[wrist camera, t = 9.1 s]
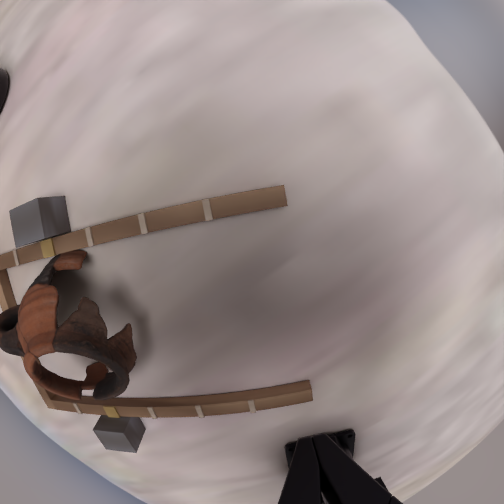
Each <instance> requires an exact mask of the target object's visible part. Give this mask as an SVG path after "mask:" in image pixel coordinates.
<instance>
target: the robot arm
mask: <svg viewBox="0 0 504 504" xmlns="http://www.w3.org/2000/svg"><path fill="white" fill-rule="evenodd" d="M354 442H355V433H354V431H353V430H348V431H344V432H340V433H336V434H332V435H326V434H325V433H321V434H316V435H313V436H312V437H311V436H307V437H302V438H299V439H298V440H297V442H295V443H290V444H287V445H286V446H285V452H286V457H287V462H288V467H289V471H288V474H287V477H286V481H285V484H284V487H283V490H282V493H281V496H280V499H279V502H278V504H403V503H402V502H400V501H399V500H398V499H397V498H395V497H394V496H392V494H391V493H389V491H388V490H387V488H386V486H385V484H384V483H383V481H382V479H381V477H378V478H376V479H373V478H372V477H371V476H370V475H369V474H368V473H367V472H365V471H364V470H363V469H362V468H361V467H360V466H359V465H358V464H357V463H356V462H355V461H354V460H353V453H354Z"/></svg>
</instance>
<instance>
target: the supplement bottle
mask: <svg viewBox="0 0 504 504" xmlns="http://www.w3.org/2000/svg"><path fill="white" fill-rule="evenodd" d="M7 91H8V75H7V73H6V71H5V70H4V69H2V68H0V111H1V109H2V106H3V104H4V101H5V98H6V95H7Z"/></svg>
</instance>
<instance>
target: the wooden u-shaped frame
mask: <svg viewBox="0 0 504 504" xmlns="http://www.w3.org/2000/svg"><path fill="white" fill-rule="evenodd" d="M283 206H287V200H286V194H285V188H284V185H281V186H275V187H269V188H263V189H257V190H252V191H246V192H241V193H235V194H230V195H225V196H220V197H214V198H210V199H209V198H208V199H203V200H200V201H195V202H190V203H186V204H181V205H176V206H172V207H168V208H163V209H159V210H155V211H150V212H146V213H140V214H138V215H134V216H130V217H126V218H122V219H118V220H114V221H110V222H107V223H103V224H99V225H96V226H92V227H87V228H85V229H81V230H78V231H74V232H71V233H68V234H64V233H67V232H70V231H71V229H70V224H69V219H68V214H67V208H66V202H65V196H58V197H43V198H36V199H34V200H32V201H29V202H27V203H25V204H23V205H21V206H18V207H16V208H14V209H12V210H10V211H9V212H10V219H11V225H12V230H13V235H14V240H15V245H16V248H17V247H20V246H24V245H27V244H31V243H34V242H37V241H40V242H38V243H35V244H32V245H29V246H26V247H23V248H20V249H16V250H13V251H11V252H8V253H5V254H3V255H0V305H1V308H2V311H3V312H4V311H5V310H7V309H9V308H11V307H13V306H16V305H17V304H16V301H15V298H14V295H13V292H12V288H11V285H10V282H9V278H8V274H7V271H6V268H10V267H13V266H18V265H20V264H24V263H28V262H31V261H35V260H38V259H42V258H48V257H51V256H55V255H57V254H61V253H65V252H69V251H73V250H77V249H81V248H85V247H91V246H94V245H97V244H101V243H105V242H109V241H114V240H118V239H122V238H127V237H131V236H135V235H140V234H147V233H149V232H153V231H158V230H163V229H167V228H172V227H177V226H182V225H187V224H191V223H196V222H201V221H209V220H213V219H217V218H222V217H227V216H232V215H238V214H243V213H249V212H254V211H260V210H266V209H271V208H277V207H283ZM60 234H64V235H61V236H58V237H54V236H57V235H60ZM51 237H54V238H51ZM47 238H50V239H47ZM44 239H47V240H44ZM41 240H43V241H41ZM21 358H22V360H23V359H24V357H22V356H21ZM36 361H37V362H38V364H40V361H39V359H38V358H37V359H36ZM33 382H34V384H35V386H36V387H37V389H38V391H39V393H40V394H41V396H42V398H43V400H44V401H45V403H46V405H47V406H48V408H51V409H57V410H63V411H70V412H78V413H79V414H82V413H86V414H96V415H101V417H100V418H99V420H98V422H97V423H96V425H95V427H94V429H93V431H94V432H95V434H96V435H97V437H98V438H99V440H100V441H101V443H102V444H103V445H104V447H105V448H106V449H108V450H115V451H124V452H133V453H137V450H138V447H139V445H140V442H141V440H142V437H143V434H144V432H145V427H144V425H143V423H142V422H141V420H140V418H139V417H152V418H153V419H157V418H158V417H195V416H199V418H204V417H205V416H211V415H223V414H233V413H242V412H251V413H254V412H256V411H258V410H265V409H271V408H277V407H283V406H289V405H294V404H299V403H304V402H309V401H313V397H312V388H311V385H310V382H309V380H306V381H301V382H296V383H291V384H286V385H280V386H275V387H269V388H262V389H256V390H249V391H241V392H233V393H224V394H214V395H203V396H190V397H171V398H111V399H107V400H95V399H93V397H89V396H81V400H74V399H69V398H65V397H62V396H59V395H57V394H54V393H52V392H50V391H48V390H46V389H44V388H42V387H41V386H39V385H38V384H37V383H36V382H35V381H33Z"/></svg>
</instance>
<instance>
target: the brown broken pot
mask: <svg viewBox="0 0 504 504" xmlns="http://www.w3.org/2000/svg"><path fill="white" fill-rule="evenodd" d="M86 255H87V253H86V252H85V251H83V250H73V251H69V252H65V253H61V254H58V255H56V256H55V257H54V258H52V259H51V260H50V262H49V263H48V264H47V265H46V266H45V268H44V269H43V271H42V272H41V274H40V275H39V276H38V277H37V278H36V279H35V281H34V282H33V283H32V284H31V286H30V287H29V288H28V290H27V292H26V294H25V295H24V297H23V299H22V301H21V304H20V305H16V306H13V307H11V308H9V309H7V310H5V311H4V312H2V313H1V314H0V348H1V349H2V350H3V351H5V352H7V353H9V354H12V355H18V356H22V357H24V359H23V364H24V367H25V370H26V372H27V373H28V375H29V376H30V378H31V379H32V380H33V381H35V382H36V383H37V384H38V385H39V386H41V387H42V388H44V389H46V390H48V391H50V392H52V393H54V394H57V395H59V396H62V397H65V398H69V399H74V400H81V396H82V390H93V389H94V392H93V399H95V400H107V399H111V398H114V397H116V396H119V395H120V394H122V393H123V392H124V391H125V390H126V388H127V386H128V384H129V372H130V371H131V370H132V369H133V367H134V366H135V361H136V359H137V356H136V352H135V350H134V347H133V340H132V328H131V324H130V323H128V324H126V326H125V327H124V328H123V329H122V330H121V331H120V332H118V333H117V334H115V335H114V336H112V337H111V338H109V339H107V328H106V325H105V322H104V321H103V319H102V317H101V316H100V313H99V308H98V306H97V304H96V303H95V302H93V301H92V300H90V299H89V298H87V297H82V298H81V300H80V303H79V306H78V310H76V311H75V312H74V313H72V314H71V316H70V317H69V318H68V319H67V320H66V321H65V322H64V323H63V324H62V325H61V326H59V327H58V324H57V318H56V316H57V306H58V302H59V296H58V292H57V289H56V287H55V286H52V285H50V283H51V279H52V275H53V274H54V273H55V272H56V271H60V270H79V269H81V268H82V264H83V260H84V259H85V257H86ZM54 352H63V353H73V354H78V355H82V356H85V357H88V358H91V359H94V360H96V361H99V362H98V363H94V364H92V365H89V366H87V368H86V373H87V376H86V378H85V380H84V381H77V380H72V379H67V378H63V377H60V376H58V375H57V374H55V373H53V372H50V371H49V370H47V369H46V368H44V367H43V366H42V365H41V364H38V362H37V361H36V359H37V358H38V357H40V356H42V355H45V354H49V353H54ZM105 365H106V366H108V367H109V368H110V369H111V370H112V371H113V372H109V373H108V369H107V368H106V366H105Z"/></svg>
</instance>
